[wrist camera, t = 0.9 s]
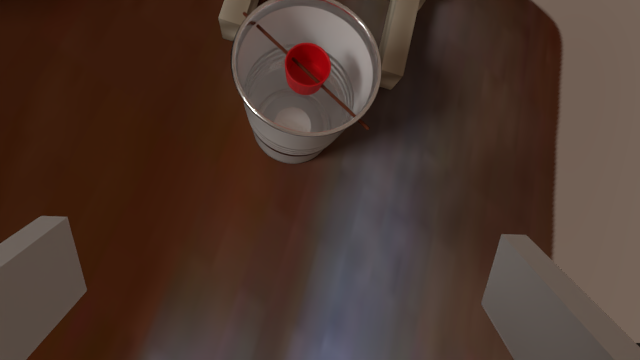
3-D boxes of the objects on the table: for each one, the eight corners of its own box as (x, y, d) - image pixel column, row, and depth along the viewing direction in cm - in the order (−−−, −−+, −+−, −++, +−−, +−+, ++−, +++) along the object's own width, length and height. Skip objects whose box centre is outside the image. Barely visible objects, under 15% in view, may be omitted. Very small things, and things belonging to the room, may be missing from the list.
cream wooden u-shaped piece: (211, 34, 31) (205, 10, 28) (246, -69, 33) (243, -103, 30) (400, 93, 33) (416, 77, 30) (422, -8, 35) (439, -33, 32)
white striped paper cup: (216, 120, 30) (185, 49, 19) (283, 56, 32) (294, -45, 20) (301, 198, 30) (324, 177, 19) (363, 130, 32) (420, 73, 20)
